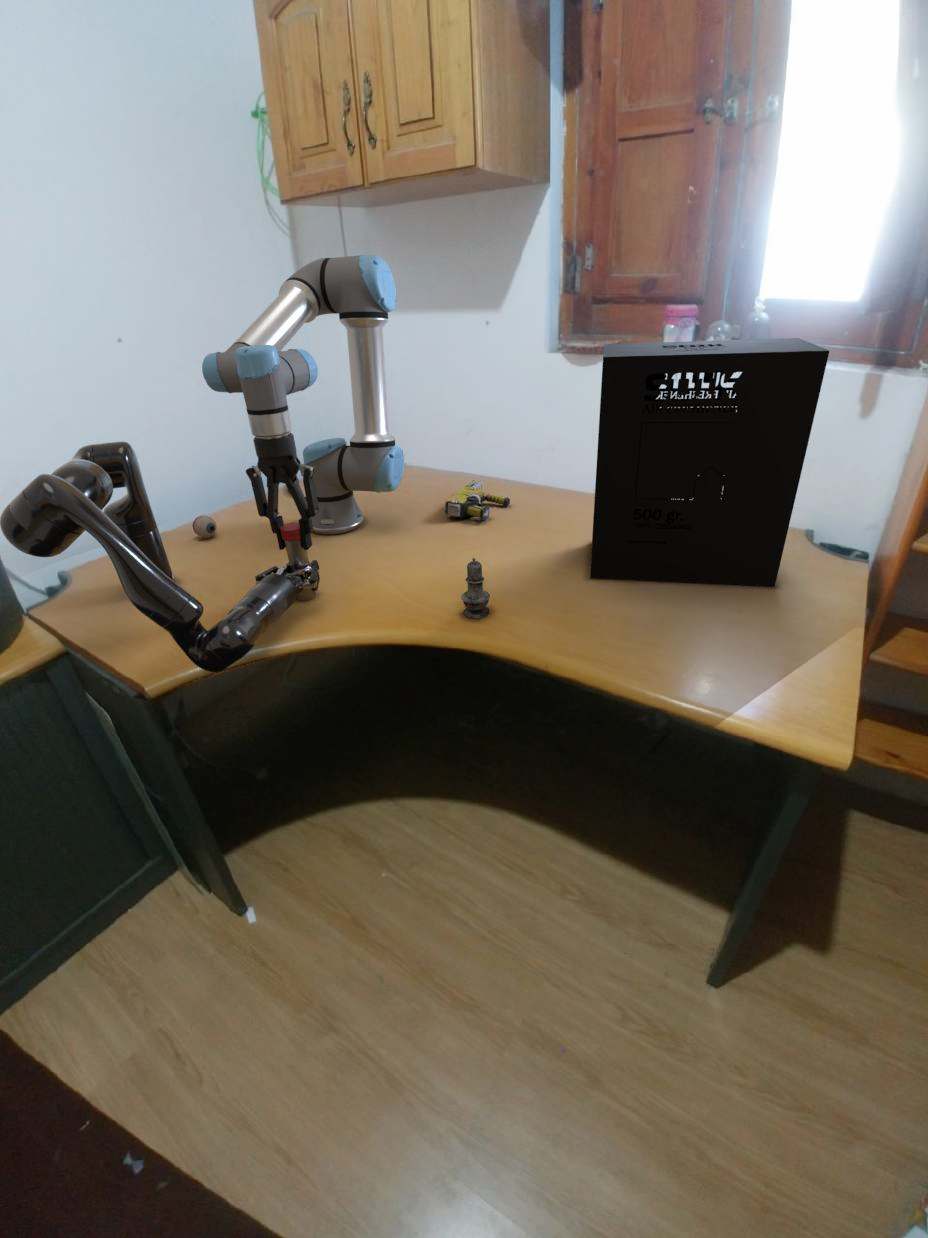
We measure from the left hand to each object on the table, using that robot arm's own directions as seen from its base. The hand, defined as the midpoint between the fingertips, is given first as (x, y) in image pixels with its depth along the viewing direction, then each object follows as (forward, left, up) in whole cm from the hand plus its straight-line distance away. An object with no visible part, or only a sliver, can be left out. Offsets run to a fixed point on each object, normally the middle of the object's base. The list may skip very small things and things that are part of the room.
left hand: (305, 563), depth 131 cm
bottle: (0, -3, -7) cm, 7 cm away
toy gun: (+29, +56, -7) cm, 63 cm away
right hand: (0, -3, +5) cm, 6 cm away
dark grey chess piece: (+39, -5, -7) cm, 40 cm away
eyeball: (-43, +27, -7) cm, 52 cm away
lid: (0, -3, +9) cm, 10 cm away
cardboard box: (+79, +23, -7) cm, 83 cm away
